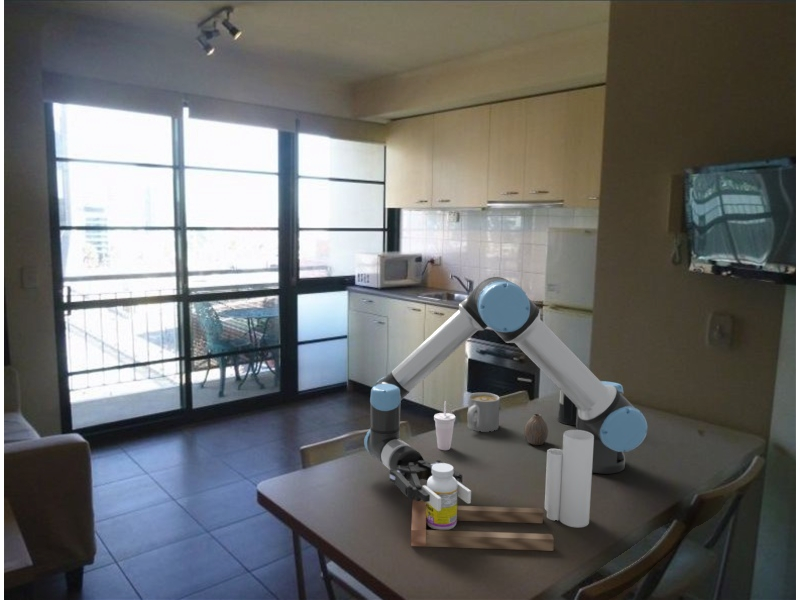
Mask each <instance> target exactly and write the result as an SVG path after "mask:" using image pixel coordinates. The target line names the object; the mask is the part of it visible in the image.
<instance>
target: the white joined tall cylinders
mask: <svg viewBox="0 0 800 600" xmlns="http://www.w3.org/2000/svg"><path fill="white" fill-rule="evenodd" d="M562 435H563V436H562V448H561V449H560V448H549V449H547V450H546V465H545V466H546V469H545V470H546V472H545V489H544V490H545V492H544V493H545V494H544V509H545V511H546V518H547V519H548V520H550V521H554V522H555V520H557V521H559V522H560V523H562V524H563V525H565V526H567V527H570V528H584V527H587V526H588V525H589V524H590V511H591V510H590V508H591V494H592V493H591V492H592V475H593V472H592V462H593V445H594V435H593V434H591V433H590V432H587V431H583V430H576V429H568V430H565V431H563V433H562Z"/></svg>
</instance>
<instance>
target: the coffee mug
mask: <svg viewBox="0 0 800 600" xmlns="http://www.w3.org/2000/svg"><path fill="white" fill-rule="evenodd" d="M467 404H468V405H467V408H468V409H467V414H466V420H467V427H468V428H469V429H470V430H472V431H475V432H479V431H481V432H482V433H489V431H491V432H495V431H497V430H499V427H500V426H499V423H500V422H499V421H500V420H499V418H500V416H499V415H500V396H499V395H497V394H494V393H491V392H473V393H470V394H469V395H468V401H467ZM494 430H495V431H494Z"/></svg>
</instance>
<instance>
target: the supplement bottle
mask: <svg viewBox="0 0 800 600" xmlns="http://www.w3.org/2000/svg"><path fill="white" fill-rule="evenodd" d="M433 464H434V465H433V466H432V471H431V472H432V476H431V477H429V478H428V480H426V486H427V487H428V488H429V489H431V490H432V491H433V492H434V493H436V494H437V495H438V496H439V497H441V511H437V510H436V509H435V508H433V507H432V506H431V505H430V504H429V503H428V502H426V526H428V527H429V528H431V529H432V530H442V531H450V530H451V529H454V527H455V526H456V525H457V522H458V521H457V506H458V496H457V492H458V483H457V480H456V479H455V478H454V477H453V473H454V470H455V469H454V466H453V465H452V464H451V463H445V462H442V463H438V464H435V463H433Z"/></svg>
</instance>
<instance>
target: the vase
mask: <svg viewBox="0 0 800 600" xmlns="http://www.w3.org/2000/svg"><path fill="white" fill-rule="evenodd" d="M548 435H549V429H548V424H547V422H546V421H545V420H544V419H543V416H542V414H539V413H534V414H532V416H531V417H530V419H528V421H527V422H526V424H525V427H524V436H525V439H526V441H527V442H528V443H529V444H531V445H533V446H540V445H543V444H545V442H546V441H547V439H548V437H549V436H548Z"/></svg>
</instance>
